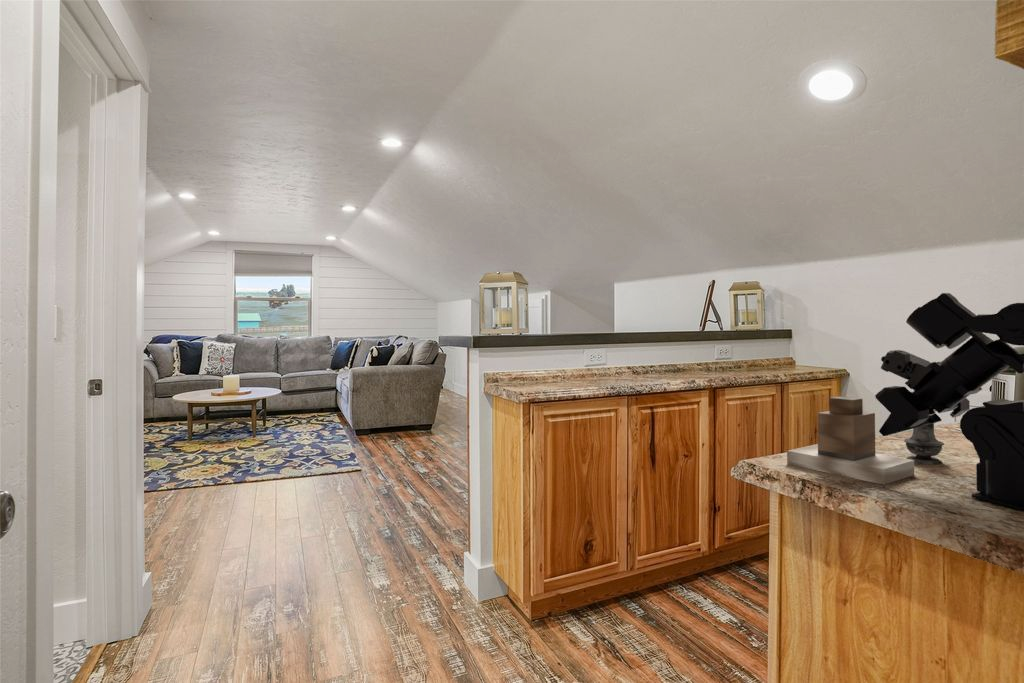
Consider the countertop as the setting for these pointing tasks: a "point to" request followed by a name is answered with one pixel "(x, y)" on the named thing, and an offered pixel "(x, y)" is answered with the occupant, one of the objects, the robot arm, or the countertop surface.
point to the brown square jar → (846, 430)
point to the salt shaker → (924, 445)
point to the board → (853, 465)
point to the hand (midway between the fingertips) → (882, 433)
